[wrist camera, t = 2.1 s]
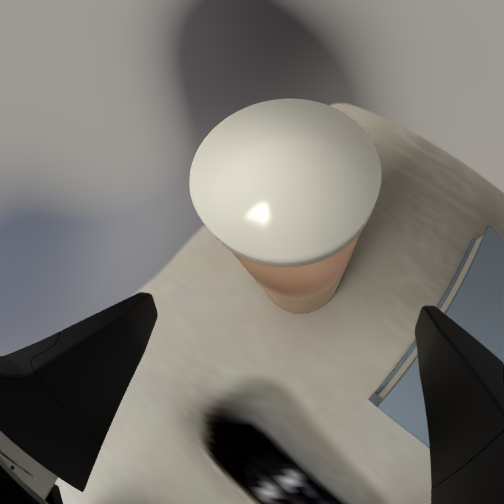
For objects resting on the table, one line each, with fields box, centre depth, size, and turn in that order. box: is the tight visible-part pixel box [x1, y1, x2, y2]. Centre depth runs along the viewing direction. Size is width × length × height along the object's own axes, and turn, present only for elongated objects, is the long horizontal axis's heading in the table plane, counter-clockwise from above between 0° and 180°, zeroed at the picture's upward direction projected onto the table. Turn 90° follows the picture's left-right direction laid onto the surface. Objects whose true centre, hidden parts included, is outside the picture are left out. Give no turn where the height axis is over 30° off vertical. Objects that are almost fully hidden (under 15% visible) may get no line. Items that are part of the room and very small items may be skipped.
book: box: [369, 226, 504, 448], centre depth 14 cm, size 15×11×3 cm
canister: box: [190, 99, 382, 313], centre depth 14 cm, size 6×6×13 cm
